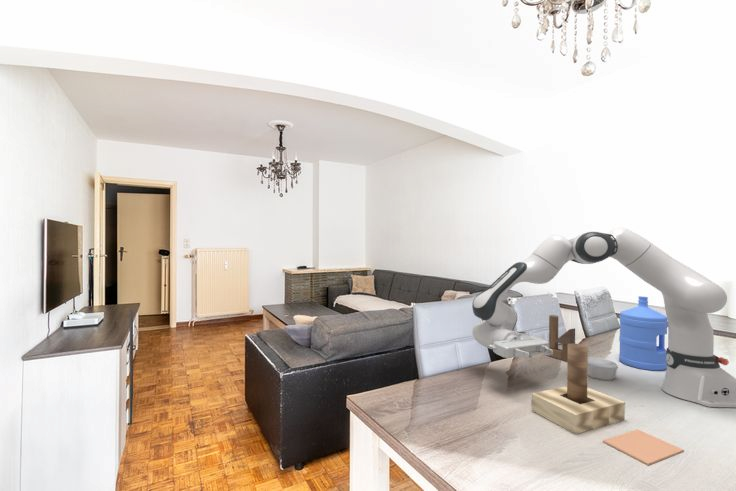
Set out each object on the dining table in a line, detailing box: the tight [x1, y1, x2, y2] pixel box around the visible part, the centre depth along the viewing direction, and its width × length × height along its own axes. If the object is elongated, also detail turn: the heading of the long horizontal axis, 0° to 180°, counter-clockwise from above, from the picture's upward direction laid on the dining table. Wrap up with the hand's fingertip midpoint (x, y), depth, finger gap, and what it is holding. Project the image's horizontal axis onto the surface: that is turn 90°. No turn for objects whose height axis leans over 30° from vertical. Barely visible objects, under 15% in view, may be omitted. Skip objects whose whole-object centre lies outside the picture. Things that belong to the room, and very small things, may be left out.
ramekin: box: [588, 356, 619, 381], centre depth 132 cm, size 11×11×5 cm
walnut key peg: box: [566, 343, 589, 404], centre depth 101 cm, size 5×5×20 cm
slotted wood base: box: [531, 385, 626, 435], centre depth 101 cm, size 20×14×5 cm
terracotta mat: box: [602, 428, 685, 466], centre depth 85 cm, size 14×10×1 cm
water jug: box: [618, 296, 668, 371], centre depth 145 cm, size 16×16×28 cm
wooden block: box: [548, 314, 576, 363], centre depth 151 cm, size 4×11×18 cm, turn 26°
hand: (540, 354), depth 112 cm, fingers open, 8 cm apart
